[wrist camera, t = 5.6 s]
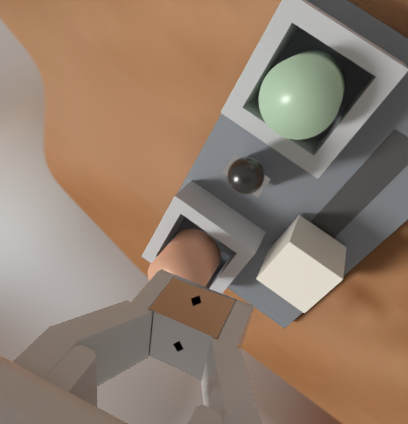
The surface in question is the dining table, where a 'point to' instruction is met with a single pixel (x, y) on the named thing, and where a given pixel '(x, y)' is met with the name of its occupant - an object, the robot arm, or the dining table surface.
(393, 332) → the dining table surface
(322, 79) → the green button
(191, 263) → the terracotta button
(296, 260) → the slider knob
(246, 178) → the ball-tipped lever
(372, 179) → the panel
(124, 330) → the robot arm
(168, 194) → the dining table surface
